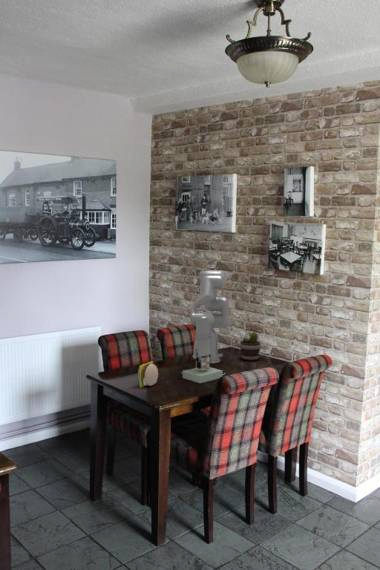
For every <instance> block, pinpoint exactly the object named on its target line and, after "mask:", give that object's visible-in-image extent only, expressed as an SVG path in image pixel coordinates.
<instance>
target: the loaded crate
mask: <svg viewBox="0 0 380 570" xmlns="http://www.w3.org/2000/svg"><path fill="white" fill-rule="evenodd" d="M198 359H199V357H198ZM200 362H201V369H199V368H197V365H196V364H195V368H196V369H199V370H202V371H203V370H207V369H209V367H210V363H209V357H207V356H203V357H201V360H200Z"/></svg>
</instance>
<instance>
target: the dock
mask: <svg viewBox="0 0 380 570" xmlns="http://www.w3.org/2000/svg"><path fill="white" fill-rule="evenodd" d="M223 372H224V371H223V370H221V369H217V368H215V367H211V366H209V369H207V370H203V371H202V370H199V369H196V367H194V368H189V369H185V370H182V379H185V380H188V381H191V382H194V383H198V384H202V383H203V384H204V383H207V382H211V381H214V380H217V379H221V378H220V377H222V376H223ZM223 377H224V376H223ZM223 377H222V378H223Z"/></svg>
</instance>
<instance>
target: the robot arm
mask: <svg viewBox="0 0 380 570" xmlns="http://www.w3.org/2000/svg"><path fill="white" fill-rule="evenodd" d="M198 277H199V281H200V285H199V296H198V298H197V299H196V300H195V301H194V302H193V303H192V305H191V308H190V313H189V323H190V325H191V326H195V339H194V344H193V354H192V356H191V357H192V358H193V359H194V360H195V366H196V365H197V368H199V369H201V362H200V360H201V357H203V356H207V357H209V364H217V363H220V362H221V359H220V358H221V357H223V356H224V355H223V353H219V345H218V344H219V335H218V332H217V330H216V329H228V327H229V324H230V304H229V303H230V302H229V298H227V297H226V296H218V290H221V289H224V288H225V286H226V282H227V279H228V278H227V277H228V276H227V272H226V271H225V270H220V269H219V270H218V269H217V270H215V269H214V270H211V269H210V270H208V269H207V270H201V271H200V272H199V274H198ZM202 306H204V310H206V311H207V312H197V309H199V308H201V307H202ZM209 312H210V313H209ZM212 312H213V313H212ZM214 312H215V313H214ZM216 312H220V313H216ZM198 357H199V359H198Z"/></svg>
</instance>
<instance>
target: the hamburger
mask: <svg viewBox="0 0 380 570" xmlns="http://www.w3.org/2000/svg"><path fill="white" fill-rule="evenodd" d="M138 367H139V368H138V372H137V373H138V375H137V378H138V383H139V388H143V387H145V386H149V387H151V386H154V385H155V384H157V381H158V378H159V370H158V367H157V365H155V363H154V361H153V360H152V361H149V362H147V363H142V364H141V365H139V366H138Z"/></svg>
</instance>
